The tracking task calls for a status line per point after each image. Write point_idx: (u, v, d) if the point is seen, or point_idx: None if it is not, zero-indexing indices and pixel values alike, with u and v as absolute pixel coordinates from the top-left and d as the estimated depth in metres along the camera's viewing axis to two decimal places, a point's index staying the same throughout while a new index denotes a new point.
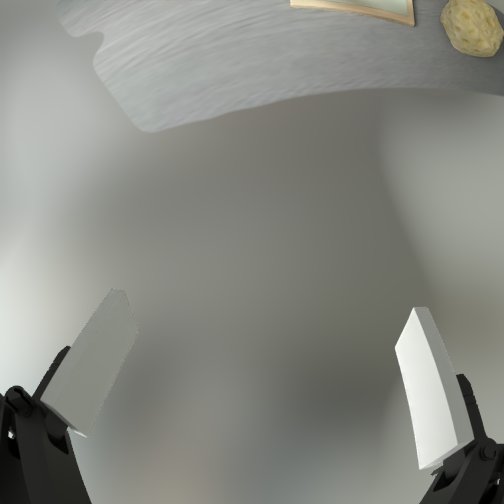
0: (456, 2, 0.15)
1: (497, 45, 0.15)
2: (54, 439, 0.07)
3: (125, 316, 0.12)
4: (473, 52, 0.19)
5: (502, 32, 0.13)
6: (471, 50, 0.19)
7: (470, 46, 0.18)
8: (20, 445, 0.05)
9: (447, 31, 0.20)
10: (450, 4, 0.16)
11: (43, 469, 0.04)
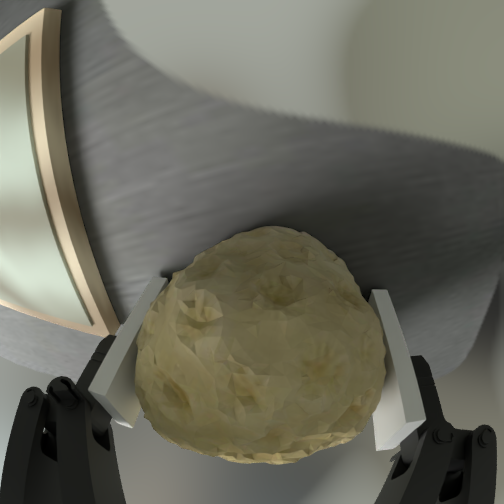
0: None
1: None
2: (96, 433, 0.07)
3: None
4: None
5: (345, 439, 0.07)
6: None
7: None
8: (58, 439, 0.06)
9: None
10: None
11: (82, 468, 0.05)
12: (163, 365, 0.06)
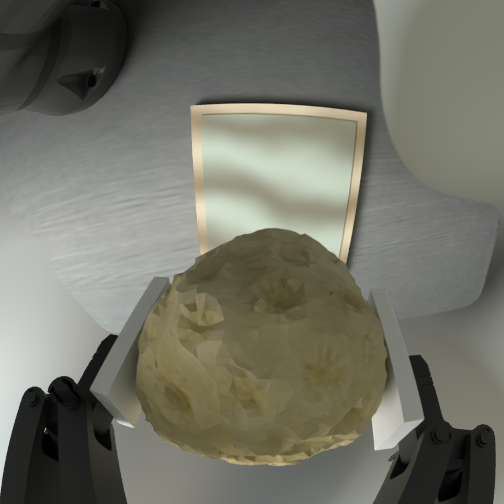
0: None
1: None
2: (97, 433, 0.07)
3: None
4: None
5: (346, 441, 0.07)
6: None
7: None
8: (59, 438, 0.06)
9: None
10: None
11: (84, 468, 0.05)
12: (165, 368, 0.06)
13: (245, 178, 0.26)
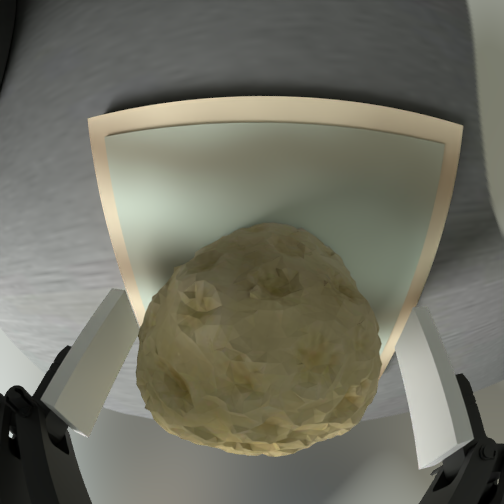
0: None
1: None
2: (54, 439, 0.07)
3: (125, 316, 0.12)
4: None
5: (342, 431, 0.07)
6: None
7: None
8: (20, 445, 0.05)
9: None
10: None
11: (43, 469, 0.04)
12: (165, 354, 0.07)
13: None
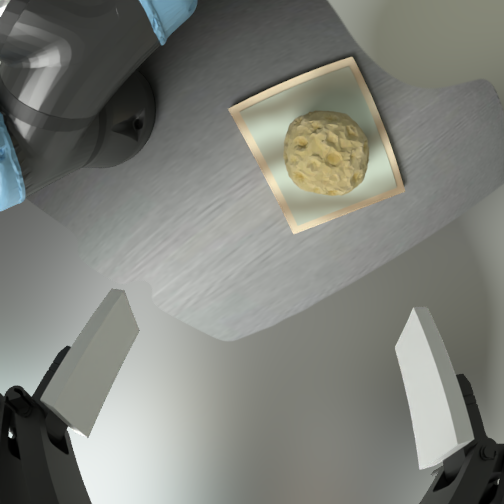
0: (287, 154, 0.26)
1: (359, 172, 0.25)
2: (54, 439, 0.07)
3: (125, 316, 0.12)
4: None
5: (360, 148, 0.23)
6: None
7: None
8: (20, 446, 0.05)
9: None
10: None
11: (42, 469, 0.04)
12: (295, 136, 0.24)
13: None
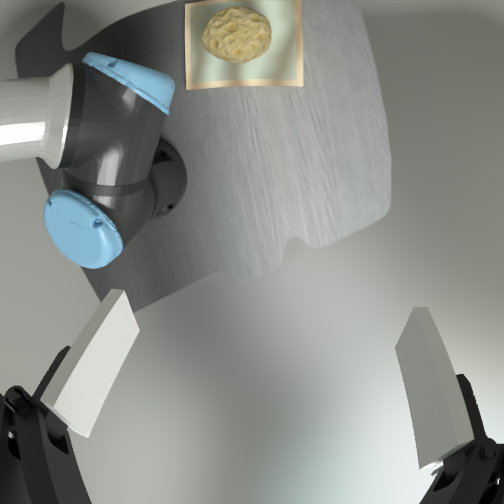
0: (223, 57, 0.30)
1: (253, 15, 0.26)
2: (54, 439, 0.07)
3: (125, 316, 0.12)
4: None
5: (233, 10, 0.25)
6: (270, 39, 0.29)
7: (267, 42, 0.29)
8: (20, 445, 0.05)
9: None
10: (226, 60, 0.31)
11: (43, 469, 0.04)
12: (209, 46, 0.29)
13: None
